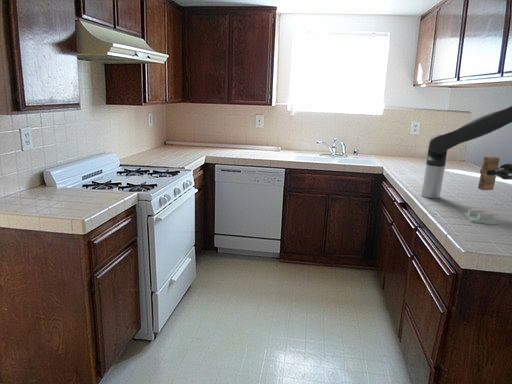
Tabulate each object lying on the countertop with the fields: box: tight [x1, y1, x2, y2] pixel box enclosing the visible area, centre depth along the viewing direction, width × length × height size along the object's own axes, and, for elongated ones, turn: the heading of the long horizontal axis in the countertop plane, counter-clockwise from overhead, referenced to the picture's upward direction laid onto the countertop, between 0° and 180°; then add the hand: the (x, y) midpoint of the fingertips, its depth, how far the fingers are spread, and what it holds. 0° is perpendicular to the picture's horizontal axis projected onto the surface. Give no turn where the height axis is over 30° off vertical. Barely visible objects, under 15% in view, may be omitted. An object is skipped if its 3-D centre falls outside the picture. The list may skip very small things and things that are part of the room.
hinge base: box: [464, 208, 498, 225], centre depth 179 cm, size 11×10×4 cm
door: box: [477, 156, 500, 191], centre depth 186 cm, size 3×7×15 cm, turn 108°
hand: (484, 172), depth 185 cm, fingers closed on door, 3 cm apart
